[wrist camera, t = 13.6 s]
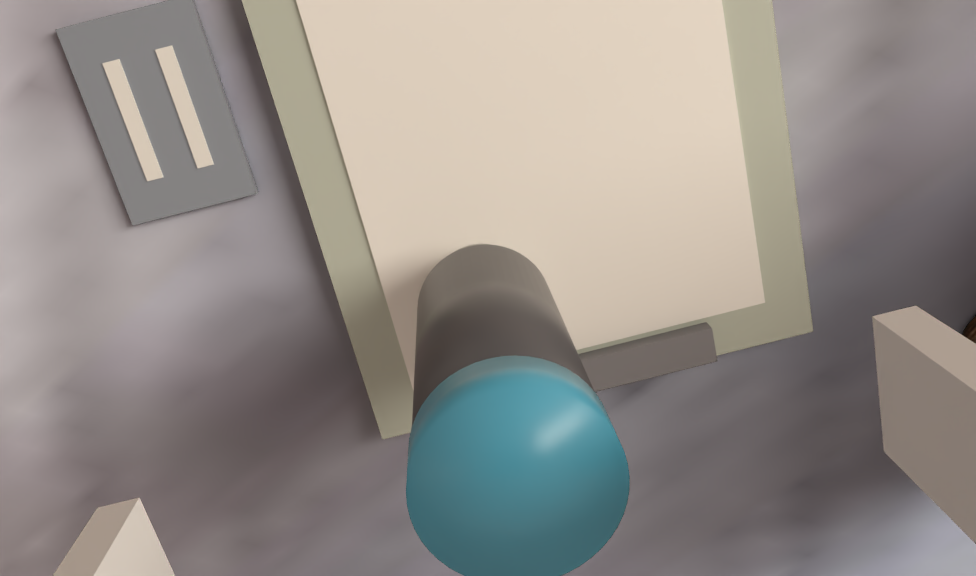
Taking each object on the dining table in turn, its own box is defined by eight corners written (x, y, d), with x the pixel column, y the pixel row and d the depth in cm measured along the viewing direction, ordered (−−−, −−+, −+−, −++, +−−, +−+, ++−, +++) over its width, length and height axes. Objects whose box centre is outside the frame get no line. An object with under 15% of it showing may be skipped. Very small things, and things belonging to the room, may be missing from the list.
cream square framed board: (229, -54, 24) (217, -58, 22) (737, -185, 24) (756, -198, 22) (383, 428, 29) (381, 448, 27) (803, 323, 29) (821, 337, 27)
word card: (59, 29, 24) (54, 29, 24) (191, -5, 24) (188, -5, 24) (135, 223, 26) (131, 226, 26) (258, 192, 26) (256, 194, 26)
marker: (402, 244, 26) (378, 420, 14) (529, 212, 26) (607, 364, 14) (435, 360, 27) (438, 607, 16) (556, 330, 27) (647, 556, 16)
